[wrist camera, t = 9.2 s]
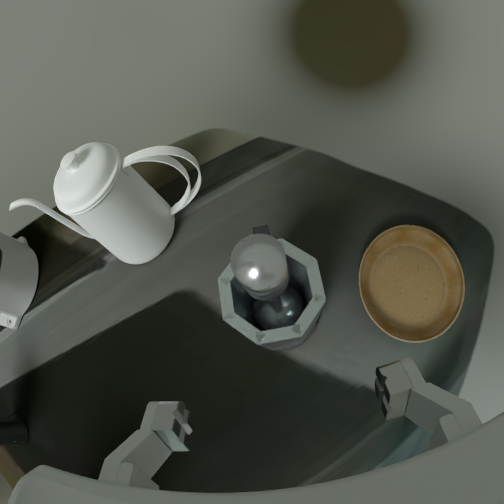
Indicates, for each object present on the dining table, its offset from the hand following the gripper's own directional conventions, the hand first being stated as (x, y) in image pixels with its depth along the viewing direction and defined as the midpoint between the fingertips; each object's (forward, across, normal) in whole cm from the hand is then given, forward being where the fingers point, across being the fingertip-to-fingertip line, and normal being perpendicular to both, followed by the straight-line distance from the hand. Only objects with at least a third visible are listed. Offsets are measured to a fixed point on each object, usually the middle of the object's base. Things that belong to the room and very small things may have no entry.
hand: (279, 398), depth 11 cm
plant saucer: (+22, -17, +12) cm, 30 cm away
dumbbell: (+20, 0, +9) cm, 22 cm away
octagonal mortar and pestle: (+22, 0, +11) cm, 24 cm away
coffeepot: (+32, +18, 0) cm, 37 cm away
